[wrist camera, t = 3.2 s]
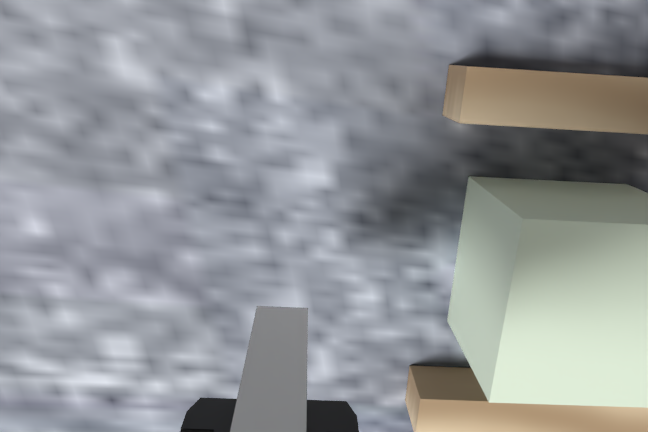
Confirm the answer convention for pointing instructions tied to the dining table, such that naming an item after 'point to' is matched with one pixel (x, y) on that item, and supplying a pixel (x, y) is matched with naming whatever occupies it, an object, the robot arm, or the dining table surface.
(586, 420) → the track
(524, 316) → the pale green block
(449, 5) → the dining table surface
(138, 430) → the dining table surface
